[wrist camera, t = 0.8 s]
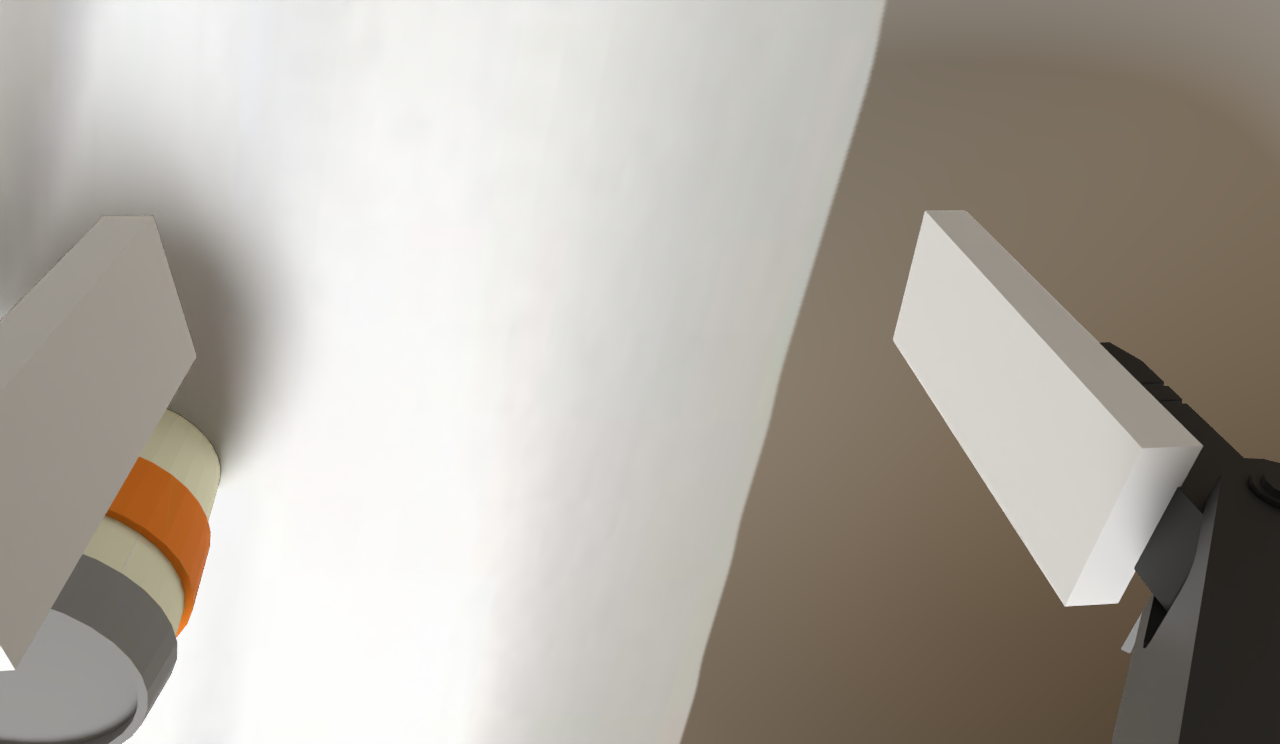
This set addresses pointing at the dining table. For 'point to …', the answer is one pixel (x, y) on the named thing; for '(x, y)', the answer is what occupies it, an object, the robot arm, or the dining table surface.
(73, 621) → the reusable coffee cup
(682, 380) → the dining table surface
